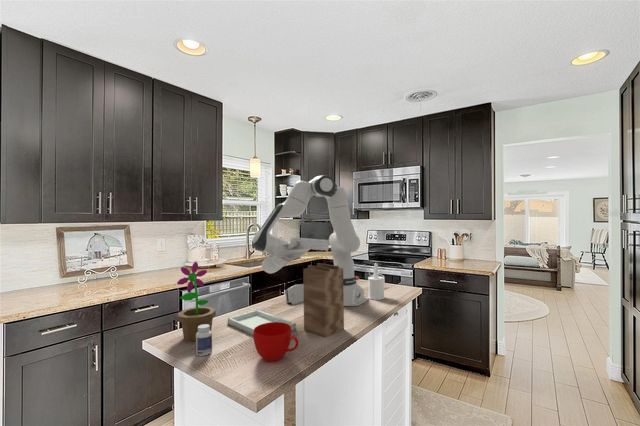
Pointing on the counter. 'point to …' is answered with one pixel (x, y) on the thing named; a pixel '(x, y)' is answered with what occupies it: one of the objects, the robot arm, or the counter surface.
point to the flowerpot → (197, 314)
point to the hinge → (295, 294)
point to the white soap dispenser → (376, 285)
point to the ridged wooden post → (323, 299)
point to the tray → (255, 321)
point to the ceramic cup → (273, 340)
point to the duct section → (311, 243)
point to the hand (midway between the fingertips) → (301, 241)
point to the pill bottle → (203, 340)
